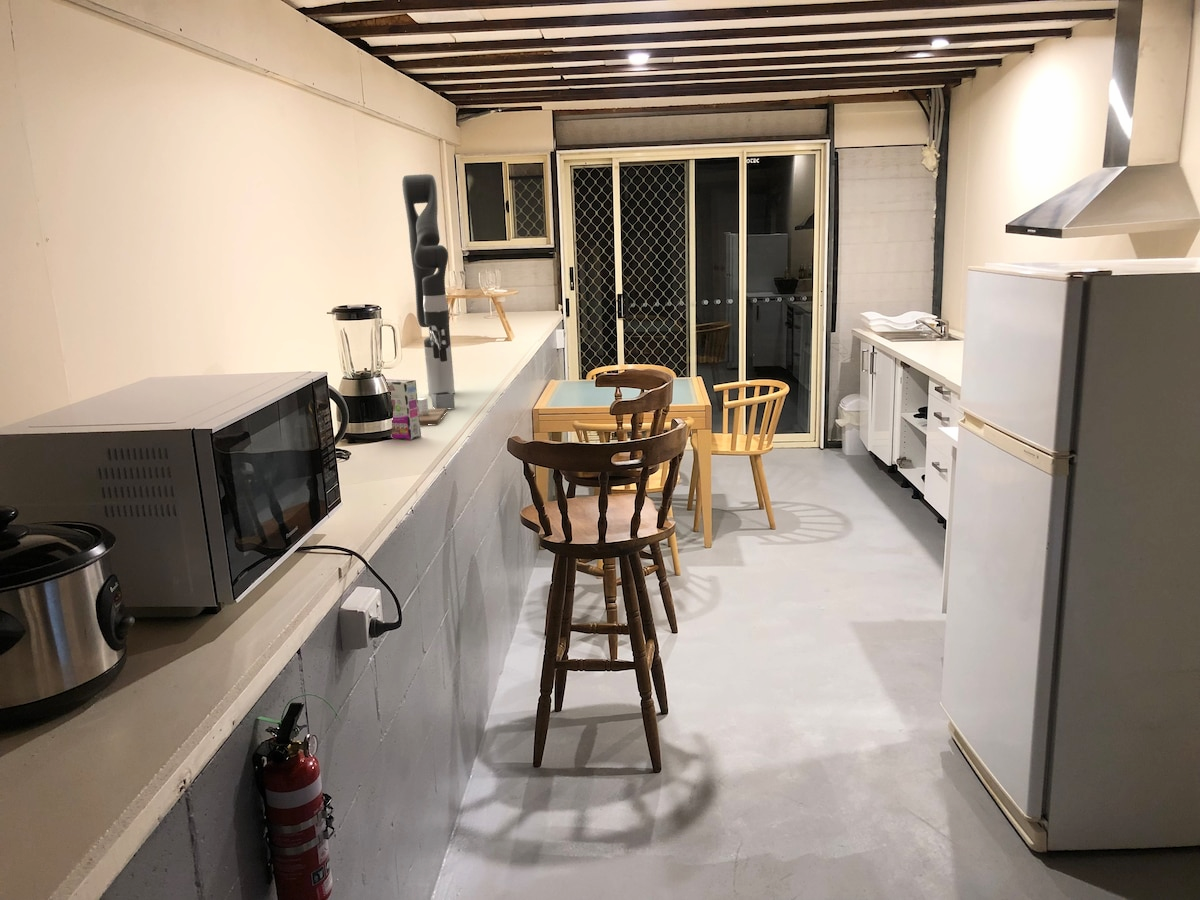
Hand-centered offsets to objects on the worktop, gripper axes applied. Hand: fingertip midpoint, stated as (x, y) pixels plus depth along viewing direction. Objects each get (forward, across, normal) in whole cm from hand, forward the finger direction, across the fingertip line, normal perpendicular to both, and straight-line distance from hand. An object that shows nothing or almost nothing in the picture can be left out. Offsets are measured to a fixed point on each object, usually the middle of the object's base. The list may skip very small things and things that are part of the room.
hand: (440, 359), depth 292 cm
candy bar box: (+16, +35, -22) cm, 44 cm away
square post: (+15, +14, -10) cm, 23 cm away
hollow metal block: (+16, 0, 0) cm, 16 cm away
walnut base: (+16, +14, -10) cm, 24 cm away
